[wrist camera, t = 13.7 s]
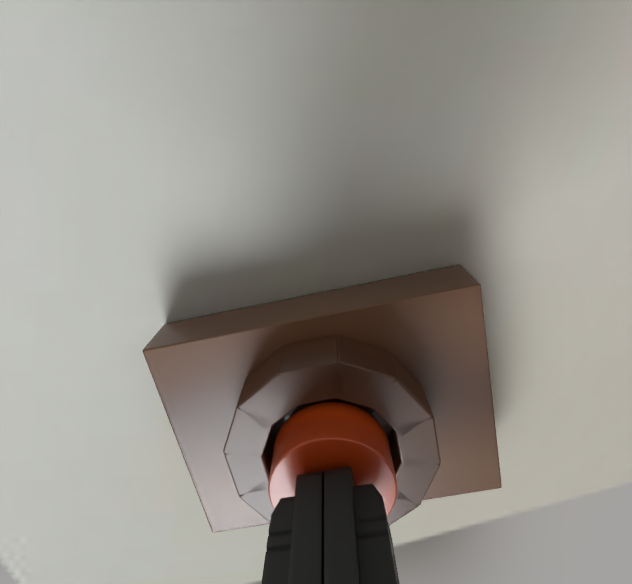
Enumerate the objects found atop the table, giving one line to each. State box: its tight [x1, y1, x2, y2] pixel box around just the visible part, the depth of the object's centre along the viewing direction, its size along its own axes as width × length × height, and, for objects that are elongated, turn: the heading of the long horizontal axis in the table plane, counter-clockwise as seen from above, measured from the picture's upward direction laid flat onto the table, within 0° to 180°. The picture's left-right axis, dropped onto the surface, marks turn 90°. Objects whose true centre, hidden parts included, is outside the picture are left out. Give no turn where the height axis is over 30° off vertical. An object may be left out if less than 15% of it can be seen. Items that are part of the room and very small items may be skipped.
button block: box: [143, 265, 501, 532], centre depth 16 cm, size 8×11×4 cm
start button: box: [268, 402, 397, 516], centre depth 13 cm, size 4×4×2 cm
